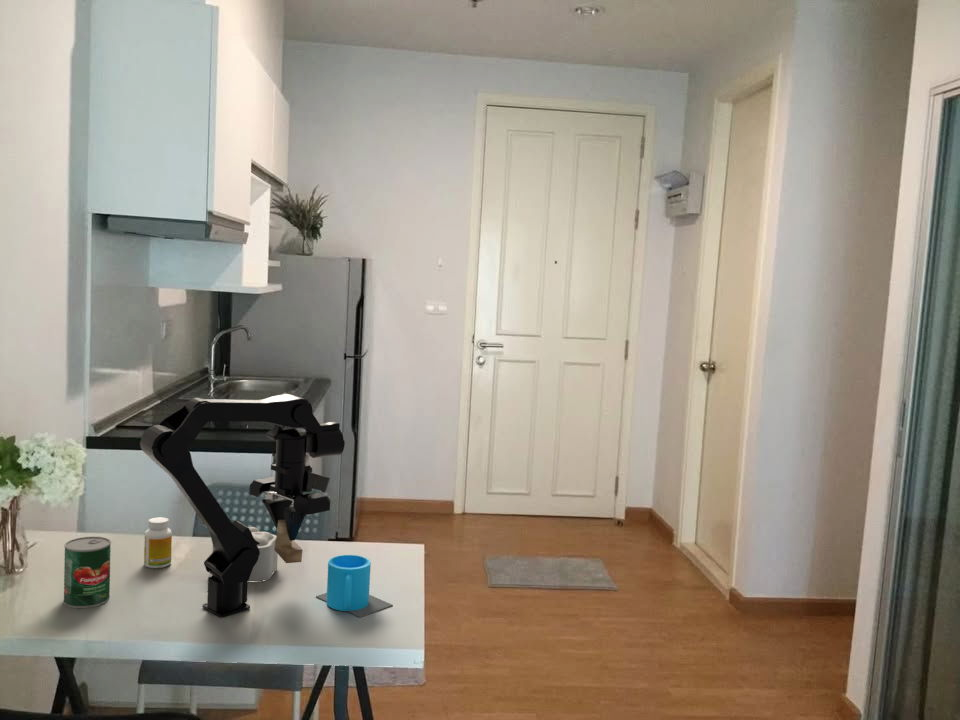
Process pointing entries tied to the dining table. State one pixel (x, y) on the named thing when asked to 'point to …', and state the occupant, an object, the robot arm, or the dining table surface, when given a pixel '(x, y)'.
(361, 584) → the mug
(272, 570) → the lumpy-topped squat cylinder
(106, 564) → the canned tomato
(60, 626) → the dining table surface
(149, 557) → the supplement bottle
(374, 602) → the charcoal mat
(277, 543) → the wooden t-shaped block
